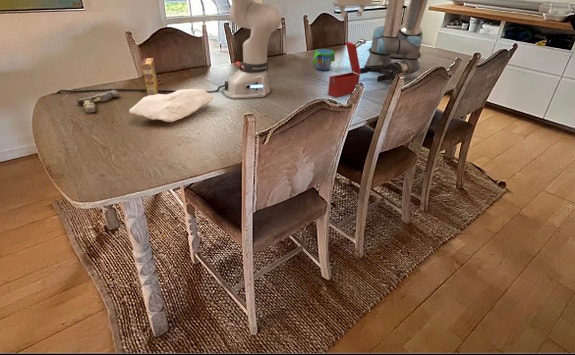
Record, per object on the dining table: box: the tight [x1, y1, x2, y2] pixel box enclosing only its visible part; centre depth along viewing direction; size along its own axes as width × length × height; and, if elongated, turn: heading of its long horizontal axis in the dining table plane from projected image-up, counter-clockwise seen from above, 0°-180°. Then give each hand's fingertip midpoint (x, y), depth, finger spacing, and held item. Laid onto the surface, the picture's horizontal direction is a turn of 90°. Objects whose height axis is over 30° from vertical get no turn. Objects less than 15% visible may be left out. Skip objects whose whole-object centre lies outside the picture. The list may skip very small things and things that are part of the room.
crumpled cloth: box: [129, 88, 214, 123], centre depth 147 cm, size 24×35×9 cm
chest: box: [327, 71, 361, 98], centre depth 176 cm, size 15×5×9 cm, turn 125°
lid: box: [345, 38, 367, 75], centre depth 172 cm, size 16×5×8 cm
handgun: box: [76, 90, 120, 114], centre depth 155 cm, size 3×18×15 cm
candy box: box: [141, 57, 160, 96], centre depth 163 cm, size 9×4×15 cm, turn 13°
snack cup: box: [312, 48, 336, 71], centre depth 209 cm, size 16×10×10 cm
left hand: (351, 16), depth 159 cm, fingers open, 8 cm apart
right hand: (368, 75), depth 183 cm, fingers open, 13 cm apart
